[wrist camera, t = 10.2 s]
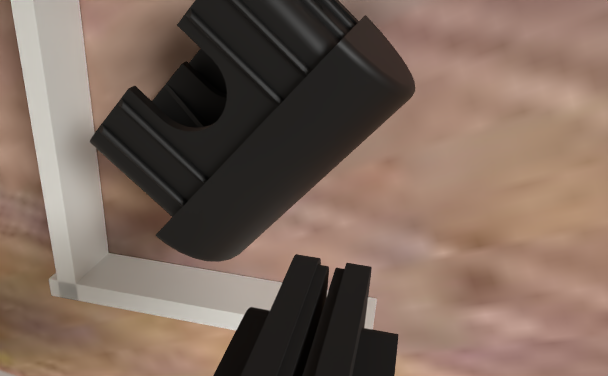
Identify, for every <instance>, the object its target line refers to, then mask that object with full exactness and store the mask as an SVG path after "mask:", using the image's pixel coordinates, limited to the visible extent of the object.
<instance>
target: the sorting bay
mask: <svg viewBox="0 0 608 376" xmlns="http://www.w3.org/2000/svg"><path fill="white" fill-rule="evenodd" d="M11 6H12V12H13V18H14V24H15V30H16V36H17V42H18V48H19V54H20V60H21V66H22V72H23V78H24V83H25V89H26V95H27V101H28V107H29V113H30V119H31V125H32V131H33V137H34V143H35V149H36V155H37V161H38V167H39V173H40V179H41V185H42V191H43V197H44V203H45V209H46V215H47V221H48V226H49V232H50V238H51V244H52V250H53V256H54V262H55V268H56V273H55V274H54V275H52V276H51V277H50V278H49V285H50V290H51V296H56V297H62V298H67V299H72V300H77V301H83V302H88V303H93V304H99V305H104V306H109V307H115V308H120V309H125V310H130V311H136V312H141V313H146V314H152V315H157V316H162V317H168V318H173V319H178V320H183V321H189V322H194V323H199V324H205V325H210V326H215V327H221V328H226V329H231V330H237V328H238V326H239V324H240V322H241V320H242V318H243V316H244V315H245V313H246V311H247V310H248V308H250V307H254V308H259V309H264V310H270V309H271V307H272V305H273V303H274V300H275V298H276V296H277V294H278V291H279V289H280V287H281V285H282V282H277V281H271V280H265V279H259V278H253V277H247V276H242V275H236V274H230V273H224V272H218V271H212V270H206V269H200V268H195V267H189V266H183V265H177V264H171V263H165V262H159V261H153V260H148V259H142V258H136V257H130V256H124V255H118V254H112V253H109V252H108V243H107V235H106V226H105V218H104V209H103V201H102V192H101V184H100V175H99V167H98V158H97V150H96V147H94V146H93V145H92V144H91V143H90V140H91V138H92V136H93V135H94V134H95V133H94V124H93V115H92V107H91V98H90V90H89V81H88V73H87V64H86V56H85V47H84V39H83V30H82V22H81V13H80V4H79V0H11ZM328 291H329V290H327V295H328ZM376 303H377V298H371V297H368V302H367V310H366V318H365V326H364V328H367V329H372V330H373V324H374V318H375V310H376Z"/></svg>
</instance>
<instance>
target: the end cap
mask: <svg viewBox="0 0 608 376" xmlns="http://www.w3.org/2000/svg"><path fill="white" fill-rule="evenodd" d="M177 26H178V27H179V28H180V29H181V30H182V31H184V32H185V33H186V34H187V35H188V36H189V37H190V38H191V39H192V40H193V41H194V42H195V43H196V44H197V45H198V46H199V47H200V48H201V49H200V50H199V51H198V53H197V54H196V55H195V56H194V58H193V59H192V60H191V61H190V63H188V62H187V61H186V62H184V63H182V64H181V66H180V67H179V68H178V69H177V71H176V72H175V73H174V74H173V76H172V77H171V78H170V79H169V81H168V82H167V83H166V85H165V86H164V87H163V88H162V90H161V91H160V92H159V93H158V95H157V96H156V97H155V98H154V100H153V101H151V100H150V99H149V98H148V97H147V96H145V95H144V94H143V93H142V92H141V91H140V90H139V89H138V88H137V87H136V86H133V87H131V88H129V89H128V90H127V91H126V93H125V94H124V95H123V97H122V98H121V99H120V101H119V102H118V103H117V105H116V106H115V107H114V109H113V110H112V111H111V112H110V114H109V115H108V116H107V118H106V119H105V120H104V122H103V123H102V124H101V126H100V127H99V128H98V130H97V131H96V132H95V134H94V135H93V136H92V138H91V140H90V143H91V144H92V145H93V146H94V147H96V148H97V149H98V150H99V151H100V152H101V153H102V154H103V155H104V156H106V157H107V158H108V159H109V160H110V161H111V162H112V163H113V164H114V165H116V166H117V167H118V168H119V169H120V170H121V171H122V172H123V173H124V174H126V175H127V176H128V177H129V178H130V179H131V180H132V181H133V182H134V183H136V184H137V185H138V186H139V187H140V188H141V189H142V190H143V191H144V192H146V193H147V194H148V195H149V196H150V197H151V198H152V199H153V200H154V201H155V202H157V203H158V204H159V205H160V206H161V207H162V208H163V209H164V210H165V211H167V212H168V213H169V214H170V215H171V216H172V218H171V219H170V220H169V222H168V223H167V224H166V225H165V226H164V227H163V228H162V229H161V230H160V231H159V232H158V233H157V234H156V236H157V237H158V238H159V239H161V240H162V241H163V242H165V243H166V244H167V245H169V246H170V247H172V248H174V249H175V250H177V251H179V252H181V253H183V254H185V255H188V256H190V257H193V258H195V259H200V260H204V261H217V262H219V261H224V260H229V259H232V258H233V257H235V256H237V255H239V254H240V253H241V252H242V251H243V250H244V249H246V248H247V247H248V246H249V245H250V244H251V243H252V242H253V241H254V240H255V239H257V238H258V237H259V236H260V235H261V234H262V233H263V232H264V231H265V230H266V229H268V228H269V227H270V226H271V225H272V224H273V223H274V222H275V221H276V220H277V219H278V218H280V217H281V216H282V215H283V214H284V213H285V212H286V211H287V210H288V209H289V208H291V207H292V206H293V205H294V204H295V203H296V202H297V201H298V200H299V199H300V198H302V197H303V196H304V195H305V194H306V193H307V192H308V191H309V190H310V189H311V188H313V187H314V186H315V185H316V184H317V183H318V182H319V181H320V180H321V179H322V178H323V177H325V176H326V175H327V174H328V173H329V172H330V171H331V170H332V169H333V168H334V167H336V166H337V165H338V164H339V163H340V162H341V161H342V160H343V159H344V158H345V157H347V156H348V155H349V154H350V153H351V152H352V151H353V150H354V149H355V148H356V147H358V146H359V145H360V144H361V143H362V142H363V141H364V140H365V139H366V138H367V137H368V136H370V135H371V134H372V133H373V132H374V131H375V130H376V129H377V128H378V127H379V126H381V125H382V124H383V123H384V122H385V121H386V120H387V119H388V118H389V117H390V116H392V115H393V114H394V113H395V112H396V111H397V110H398V109H399V108H400V107H401V106H403V105H404V104H405V103H406V102H407V101H408V100H409V99H410V98H411V97H412V96H413V94H414V92H415V83H414V80H413V77H412V75H411V73H410V71H409V69H408V67H407V65H406V64H405V62H404V61H403V59H402V58H401V57H400V55H399V54H398V53H397V51H396V50H395V49H394V47H393V46H392V45H391V43H390V42H389V41H388V40H387V39H386V37H385V36H384V35H383V34H382V33H381V32H380V30H379V29H378V28H377V27H376V26H375V25H374V24H373V23H372V22H371V21H370V19H369V18H368V17H367V16H366V15H365V16H364V17H363V18H362V19H361V20H360V21H358V20H357V19H356V18H355V17H354V16H353V15H352V14H351V13H350V12H349V11H348V10H347V9H346V8H345V7H344V6H343V5H342V4H341V3H340V2H339V1H338V0H195V2H194V3H193V4H192V6H191V7H190V8H189V10H188V11H187V12H186V14H185V15H184V16H183V18H182V19H181V20H180V22H179V23H178V24H177Z"/></svg>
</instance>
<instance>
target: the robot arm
mask: <svg viewBox="0 0 608 376" xmlns="http://www.w3.org/2000/svg"><path fill="white" fill-rule="evenodd" d="M328 275H329V267H328V266H323V265H321V260H320V258H315V257H309V256H303V255H297V254H296V255H295V256H294V258H293V260H292V262H291V265H290V267H289V269H288V271H287V273H286V276H285V278H284V280H283V282H282V285H281V287H280V289H279V291H278V294H277V296H276V298H275V300H274V303H273V305H272V307H271V309H270V310H264V309H259V308H254V307H250V308H248V310H247V311H246V313H245V315H244V316H243V318H242V320H241V322H240V324H239V326H238V328H237V330H236V332H235V334H234V336H233V338H232V340H231V342H230V344H229V346H228V348H227V350H226V352H225V354H224V356H223V358H222V360H221V362H220V364H219V366H218V368H217V370H216V372H215V374H214V376H394V374H395V364H396V354H397V344H398V334H393V333H388V332H383V331H377V330H372V329H367V328H364V326H365V318H366V310H367V302H368V294H369V286H370V278H371V267H369V266H363V265H357V264H351V263H346V266H345V269H340V268H336V269H335V272H334V275H333V278H332V282H331V285H330V288H329V291H328V295H327V287H328Z"/></svg>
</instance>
